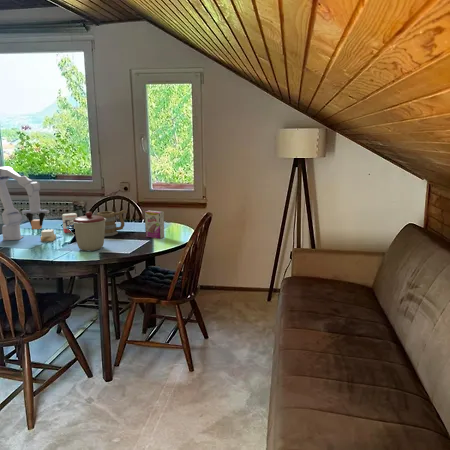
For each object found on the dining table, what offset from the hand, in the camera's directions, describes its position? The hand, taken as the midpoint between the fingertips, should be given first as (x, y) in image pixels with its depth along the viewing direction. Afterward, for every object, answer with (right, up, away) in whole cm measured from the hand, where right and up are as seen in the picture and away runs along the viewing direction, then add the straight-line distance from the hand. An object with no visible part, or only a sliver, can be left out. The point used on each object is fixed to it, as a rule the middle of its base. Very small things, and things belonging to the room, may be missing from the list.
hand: (36, 225), depth 249 cm
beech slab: (+4, -9, +8) cm, 13 cm away
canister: (+36, -13, -13) cm, 40 cm away
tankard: (+38, -5, +24) cm, 46 cm away
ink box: (+9, -4, +30) cm, 31 cm away
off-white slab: (+3, -6, +8) cm, 10 cm away
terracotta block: (0, -2, 0) cm, 2 cm away
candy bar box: (+67, -8, +14) cm, 69 cm away
